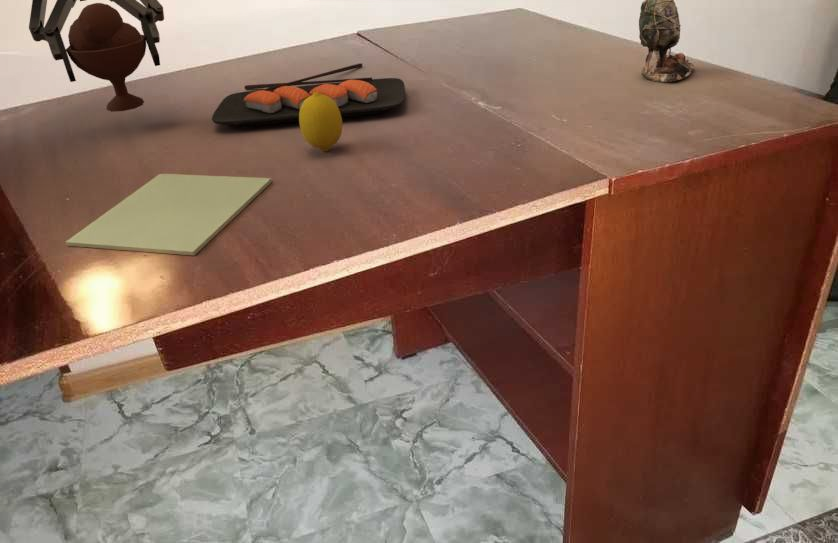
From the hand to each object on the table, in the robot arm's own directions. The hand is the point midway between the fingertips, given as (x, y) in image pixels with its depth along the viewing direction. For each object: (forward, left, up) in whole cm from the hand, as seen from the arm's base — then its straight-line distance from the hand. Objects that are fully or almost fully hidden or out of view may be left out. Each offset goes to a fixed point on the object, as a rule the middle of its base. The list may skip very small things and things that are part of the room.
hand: (115, 68), depth 101 cm
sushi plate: (+22, +18, -10) cm, 31 cm away
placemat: (+22, -24, -10) cm, 34 cm away
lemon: (+33, -5, -10) cm, 35 cm away
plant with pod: (+76, +28, -10) cm, 82 cm away
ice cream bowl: (-2, +2, -6) cm, 7 cm away
